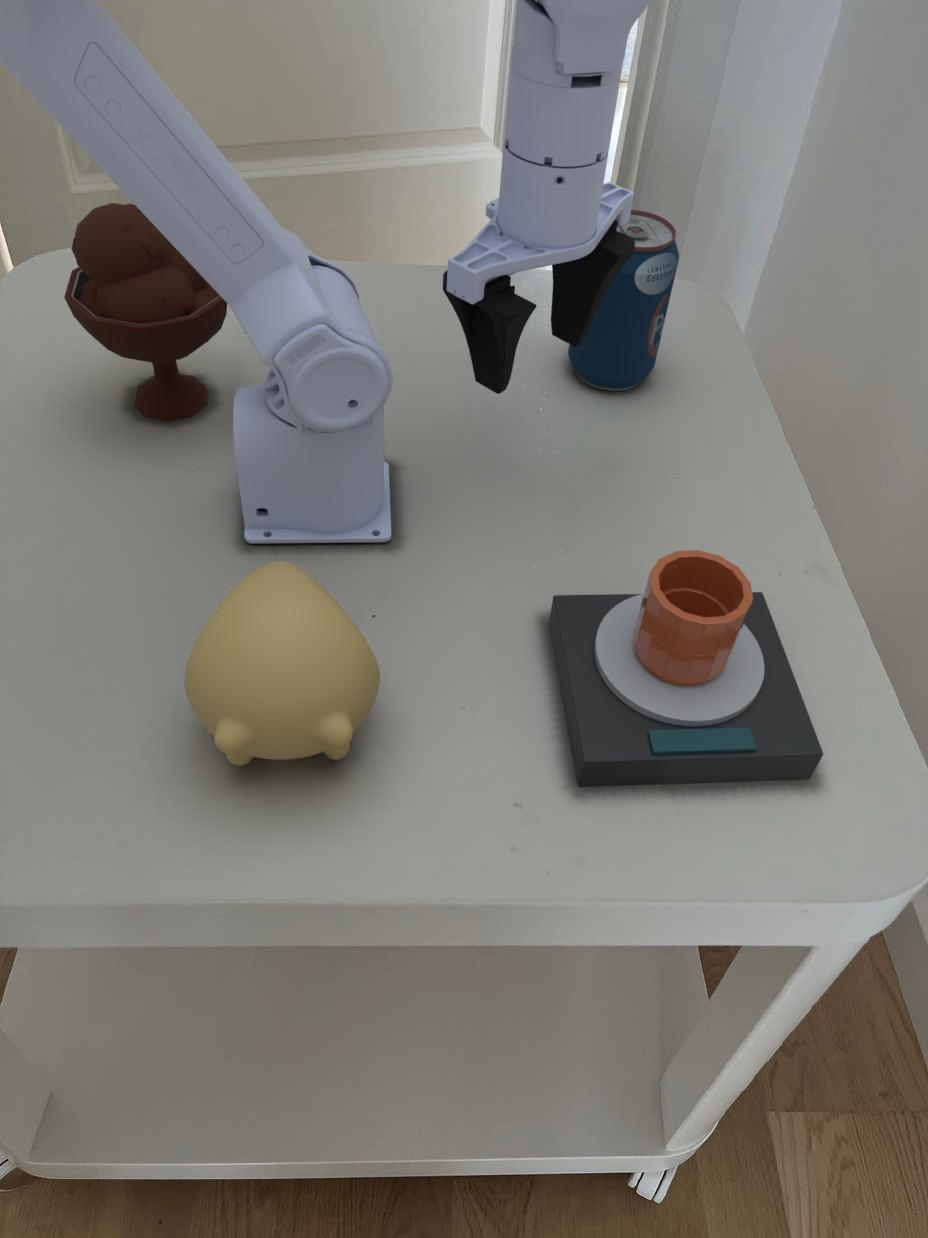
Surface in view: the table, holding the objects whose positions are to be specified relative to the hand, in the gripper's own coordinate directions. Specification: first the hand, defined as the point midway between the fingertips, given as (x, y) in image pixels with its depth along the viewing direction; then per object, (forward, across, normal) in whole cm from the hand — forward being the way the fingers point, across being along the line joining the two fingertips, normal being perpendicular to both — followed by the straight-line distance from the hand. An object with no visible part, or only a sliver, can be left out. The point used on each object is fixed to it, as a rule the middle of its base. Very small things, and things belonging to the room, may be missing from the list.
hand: (529, 361), depth 64 cm
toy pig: (+10, +25, +5) cm, 28 cm away
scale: (+9, +8, +19) cm, 23 cm away
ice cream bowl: (+10, +12, -24) cm, 28 cm away
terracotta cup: (+6, +8, +19) cm, 21 cm away
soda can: (+10, -16, -3) cm, 19 cm away
